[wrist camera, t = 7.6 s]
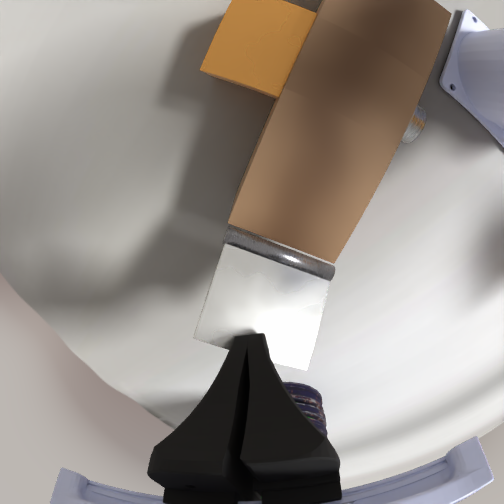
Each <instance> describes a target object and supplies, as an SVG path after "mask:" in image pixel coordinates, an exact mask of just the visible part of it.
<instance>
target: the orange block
mask: <svg viewBox="0 0 504 504" xmlns="http://www.w3.org/2000/svg"><path fill="white" fill-rule="evenodd" d="M316 16H317V13H315V12H312V11H310V10H307V9H305V8H302V7H300V6H297V5H295V4H292V3H289V2H286V1H284V0H232V1H231V3H230V5H229V7H228V9H227V11H226V13H225V15H224V17H223V19H222V21H221V23H220V25H219V27H218V29H217V32H216V34H215V36H214V38H213V40H212V42H211V45H210V47H209V49H208V51H207V54H206V56H205V58H204V61H203V63H202V66H201V68H200V71H202V72H204V73H206V74H208V75H210V76H212V77H216V78H219V79H222V80H225V81H228V82H231V83H234V84H237V85H240V86H243V87H246V88H249V89H251V90H254V91H257V92H260V93H262V94H265V95H267V96H270V97H273V98H275V99H276V98H278V97H279V96H280V94H281V91H282V89H283V87H284V85H285V82H286V80H287V78H288V76H289V74H290V72H291V69H292V67H293V65H294V63H295V61H296V59H297V56H298V54H299V52H300V50H301V48H302V46H303V44H304V41H305V39H306V37H307V35H308V33H309V31H310V29H311V26H312V24H313V22H314V20H315V18H316ZM425 122H426V112H425V110H424V109H423V108H421V107H420V106H419V105H417V107H416V109H415V111H414V113H413V116H412V118H411V120H410V122H409V124H408V127H407V129H406V131H405V133H404V135H403V137H402V139H401V141H403V142H405V143H410V142H412V141H413V140H415V139H416V138H417V137H418V136H419V134H420V133H421V131H422V130H423V127H424V125H425Z"/></svg>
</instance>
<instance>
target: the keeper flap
mask: <svg viewBox="0 0 504 504" xmlns="http://www.w3.org/2000/svg"><path fill="white" fill-rule="evenodd" d="M222 244H224V247H223V249H222V252H221V255H220V258H219V261H218V264H217V267H216V270H215V273H214V276H213V279H212V282H211V285H210V288H209V291H208V294H207V297H206V300H205V303H204V306H203V309H202V312H201V315H200V318H199V321H198V324H197V327H196V330H195V334H194V337H193V338H194V339H196V340H199V341H203V342H206V343H209V344H212V345H215V346H218V347H222V348H225V349H228V350H230V347H231V345H232V342H233V339H234V338H235V337H236V336H243V335H250V334H257V333H264V334H265V336H266V340H267V344H268V348H269V353H270V357H271V360H272V362H275V363H279V364H284V365H288V366H292V367H296V368H300V369H305V370H307V367H308V364H309V360H310V357H311V354H312V350H313V347H314V343H315V339H316V336H317V332H318V328H319V325H320V321H321V317H322V313H323V309H324V305H325V301H326V297H327V293H328V288H329V284H330V281H331V280H332V278H333V276H334V274H335V267H334V266H333V265H330V264H327V263H325V262H322V261H320V260H317V259H314V258H312V257H309V256H307V255H304V254H301V253H299V252H296V251H294V250H291V249H288V248H286V247H283V246H280V245H278V244H275V243H272V242H270V241H267V240H264V239H262V238H259V237H256V236H254V235H251V234H248V233H246V232H243V231H240V230H238V229H235V228H232V227H228V229H227V232H226V234H225V237H224V240H223V243H222Z"/></svg>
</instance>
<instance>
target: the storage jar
mask: <svg viewBox="0 0 504 504" xmlns="http://www.w3.org/2000/svg"><path fill="white" fill-rule="evenodd" d="M283 384H284V385H285V387H286V389H287V390H288V392H289V393H290V395H291V396H292V398H293V399H294V401H295V402H296V403H297V405H298V406H299V407H300V408H301V410H302V411H303V412H304V413H305V415H306V416H307V417H308V418H309V419H310V420H311V422H312V423H313V424H314V425H315V426H316V427H317V428H318V429H319V430H320V431H321V432H322V433H323V434H324V435H325V436H326V437H327V430H326V418H325V414H324V411H323V407H322V397H321V394H320V393H319V392H318V391H317V390H316V389H314V388H312V387H310V386H308V385H305V384H300V383H293V382H283ZM261 500H262V497H261Z"/></svg>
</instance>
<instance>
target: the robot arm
mask: <svg viewBox="0 0 504 504" xmlns="http://www.w3.org/2000/svg"><path fill="white" fill-rule="evenodd" d="M472 19H473V20H474V21H473V20H472ZM439 82H440V85H441V87H442V88H443V89H444V90H445V91H446V92H448V93H449V94H450V95H451V96H452V97H453V98H455V99H456V100H457V101H458V102H459V103H460V104H461V105H462V106H464V107H465V108H466V109H467V110H468V111H469V112H470V113H471V114H472V115H473V116H474V117H475V118H476V119H477V120H478V121H479V122H480V123H481V124H482V125H483V126H484V127H485V128H486V129H487V130H488V131H489V132H490V133H491V134H492V135H493V136H494V137H495V139H496V140H497V141H498V142H499V143H500V144H501V145H502V146H503V148H504V28H500V29H492V30H489V29H488V28H487V27H486V26H485V25H484V24H483V23H482V22H481V21H480V20H479V19H478V18H477V17H476V16H475V15H474V14H473V13H472V12H471V11H469V10H464V11H463V12H462V15H461V19H460V22H459V25H458V29H457V32H456V35H455V38H454V41H453V44H452V47H451V50H450V53H449V55H448V58H447V61H446V64H445V66H444V69H443V72H442V74H441V77H440V81H439ZM450 84H451V85H452V90H451V89H450ZM339 468H340V459H339V457H338V454H337V453H336V451H335V449H334V448H333V446H332V445H331V443H330V442H329V440H328V438H327V437H326V436H325V435H324V434H323V433H322V432H321V431H320V430H319V429H318V428H317V427H316V426H315V425H314V424H313V423H312V422H311V420H310V419H309V418H308V417H307V416H306V415H305V413H304V412H303V411H302V410H301V408H300V407H299V406H298V405H297V403H296V402H295V401H294V399H293V398H292V396H291V395H290V393H289V392H288V390H287V389H286V387H285V385H284V384H283V382H282V380H281V378H280V377H279V375H278V373H277V371H276V369H275V367H274V364H273V362H272V360H271V357H270V353H269V348H268V344H267V340H266V336H265V334H264V333H257V334H250V335H243V336H236V337H235V338H234V339H233V342H232V345H231V347H230V350H229V352H228V355H227V357H226V359H225V361H224V363H223V365H222V367H221V369H220V371H219V373H218V375H217V377H216V378H215V380H214V382H213V383H212V385H211V387H210V388H209V390H208V392H207V393H206V394H205V396H204V397H203V399H202V400H201V401H200V403H199V404H198V405H197V407H196V408H195V409H194V410H193V411H192V413H191V414H190V415H189V416H188V417H187V418H186V419H185V420H184V421H183V422H182V423H181V424H180V425H179V426H178V427H177V428H176V429H175V430H174V431H173V432H172V433H171V434H170V435H169V436H167V437H166V438H165V439H164V440H163V441H161V442H160V443H159V444H158V445H156V446H155V447H154V449H153V452H152V454H151V458H150V462H149V467H148V472H147V474H148V476H149V477H150V478H151V479H152V480H154V481H155V482H157V483H159V484H160V485H161V486H163V487H164V488H165V490H164V496H156V495H150V494H145V493H139V492H134V491H129V490H125V489H120V488H116V487H112V486H108V485H104V484H101V483H97V482H94V481H90V480H88V479H87V478H86V477H84V476H82V475H81V474H79V473H76V472H74V471H71V470H67V469H65V468H61V469H60V473H59V475H58V479H57V482H56V485H55V488H54V491H53V494H52V498H51V501H50V504H455V503H457V502H459V501H461V500H463V499H465V498H467V497H468V496H470V495H472V494H473V493H475V492H477V491H478V490H480V489H481V488H483V487H484V486H486V485H487V484H489V483H490V482H492V481H493V480H494V477H493V474H492V471H491V469H490V466H489V463H488V461H487V458H486V456H485V454H484V451H483V449H482V446H481V444H480V441H479V439H478V437H477V436H475V437H473V438H471V439H469V440H467V441H465V442H463V443H461V444H459V445H457V446H455V447H454V448H452V449H451V450H450V451H448V453H447V454H446V456H444V457H442V458H440V459H437V460H435V461H433V462H430V463H428V464H425V465H423V466H420V467H418V468H415V469H413V470H410V471H407V472H404V473H402V474H399V475H396V476H393V477H390V478H386V479H383V480H380V481H376V482H373V483H369V484H366V485H362V486H358V487H354V488H349V489H345V490H341V485H340V474H339ZM261 497H262V500H261Z"/></svg>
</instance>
